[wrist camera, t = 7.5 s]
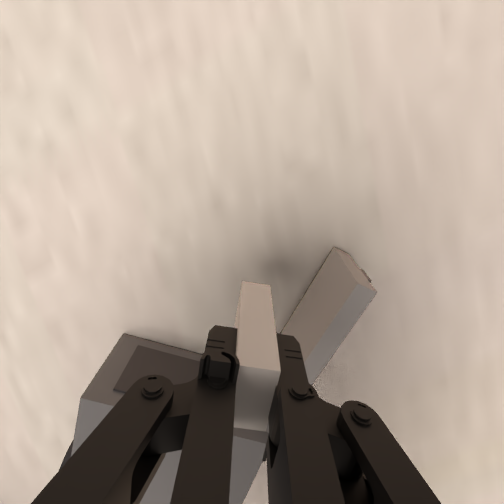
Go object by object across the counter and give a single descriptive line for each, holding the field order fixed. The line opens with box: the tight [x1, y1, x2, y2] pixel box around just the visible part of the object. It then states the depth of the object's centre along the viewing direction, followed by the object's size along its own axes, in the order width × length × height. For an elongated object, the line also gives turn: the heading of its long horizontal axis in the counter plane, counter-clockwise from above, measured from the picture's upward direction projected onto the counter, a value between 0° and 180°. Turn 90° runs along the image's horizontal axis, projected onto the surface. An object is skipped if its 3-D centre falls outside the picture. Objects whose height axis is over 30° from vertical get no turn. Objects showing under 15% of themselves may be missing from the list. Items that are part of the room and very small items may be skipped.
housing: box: [59, 334, 269, 504], centre depth 25 cm, size 16×13×7 cm
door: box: [266, 247, 377, 433], centre depth 21 cm, size 2×12×6 cm, turn 154°
